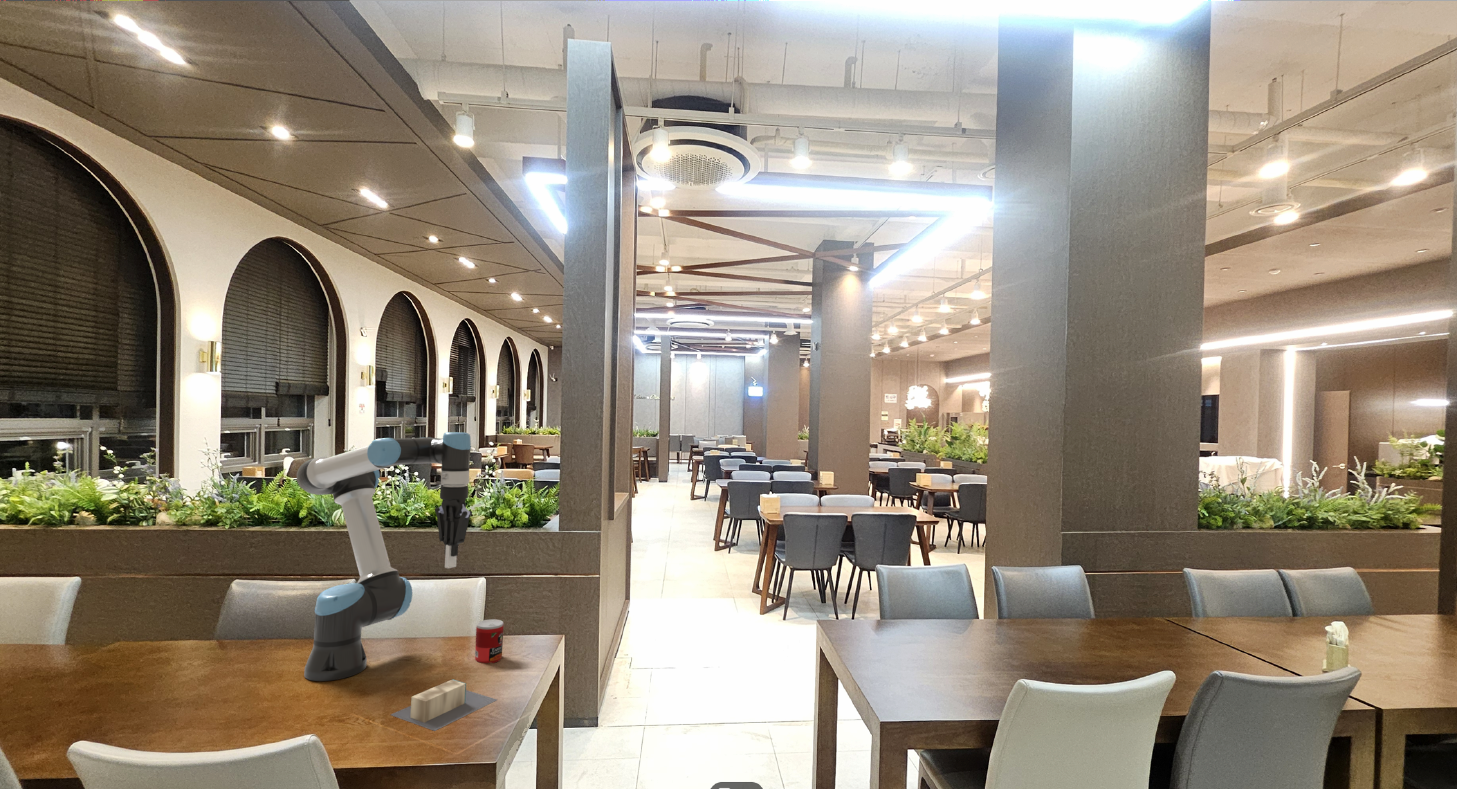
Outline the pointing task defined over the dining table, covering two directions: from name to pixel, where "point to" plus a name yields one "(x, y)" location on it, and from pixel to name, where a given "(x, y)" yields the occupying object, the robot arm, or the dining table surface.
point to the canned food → (489, 641)
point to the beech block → (438, 700)
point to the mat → (449, 712)
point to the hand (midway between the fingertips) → (450, 567)
